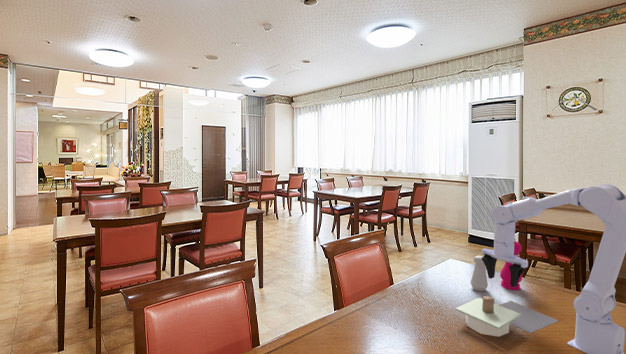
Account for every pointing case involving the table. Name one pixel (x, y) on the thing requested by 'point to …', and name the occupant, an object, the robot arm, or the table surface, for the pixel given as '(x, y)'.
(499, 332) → the bowl
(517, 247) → the pepper mill
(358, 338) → the table surface
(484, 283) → the salt shaker
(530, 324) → the mat
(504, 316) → the cover
